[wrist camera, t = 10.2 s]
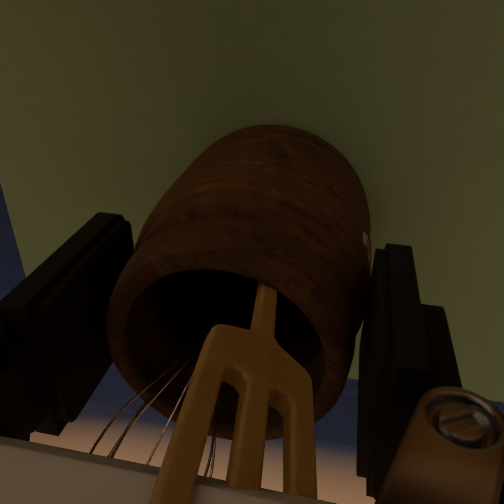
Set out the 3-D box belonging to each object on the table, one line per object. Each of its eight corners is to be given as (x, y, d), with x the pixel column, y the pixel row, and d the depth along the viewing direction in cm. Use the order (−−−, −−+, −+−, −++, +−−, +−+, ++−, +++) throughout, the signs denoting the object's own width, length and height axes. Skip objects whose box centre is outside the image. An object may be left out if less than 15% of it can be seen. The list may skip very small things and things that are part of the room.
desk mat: (47, 322, 21) (39, 330, 21) (-50, -55, 14) (-66, -57, 14) (537, 396, 18) (542, 409, 17) (737, -47, 11) (755, -48, 10)
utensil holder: (160, 232, 17) (-148, 633, 7) (242, 67, 13) (-128, 371, 3) (305, 314, 17) (221, 799, 7) (418, 175, 14) (552, 715, 4)
